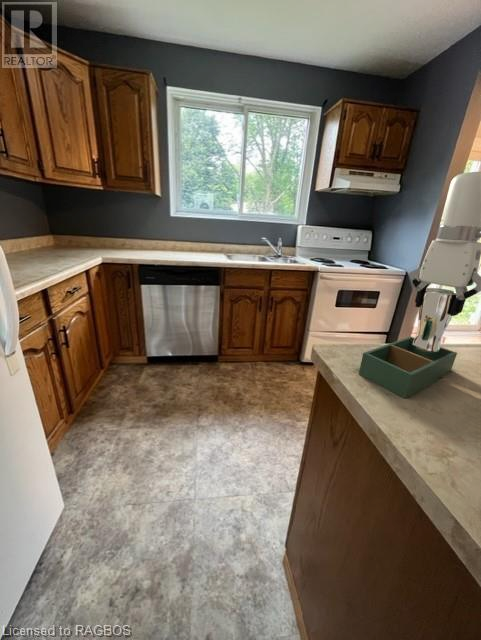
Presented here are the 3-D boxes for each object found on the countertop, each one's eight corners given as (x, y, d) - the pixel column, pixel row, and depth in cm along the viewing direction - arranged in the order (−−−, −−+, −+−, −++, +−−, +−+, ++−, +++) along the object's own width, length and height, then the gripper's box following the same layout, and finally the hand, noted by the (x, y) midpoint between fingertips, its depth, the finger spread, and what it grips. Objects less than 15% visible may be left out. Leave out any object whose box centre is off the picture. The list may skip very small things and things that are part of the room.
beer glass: (422, 340, 74) (437, 287, 69) (448, 351, 68) (466, 293, 63) (403, 343, 72) (417, 288, 67) (428, 355, 66) (446, 295, 61)
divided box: (405, 354, 80) (410, 336, 78) (450, 373, 71) (457, 352, 69) (358, 373, 68) (363, 352, 66) (404, 398, 59) (412, 375, 57)
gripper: (514, 237, 56) (485, 318, 62) (424, 233, 69) (407, 300, 75) (501, 237, 52) (472, 324, 58) (408, 233, 66) (392, 303, 72)
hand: (436, 309), depth 67 cm, fingers closed on beer glass, 7 cm apart
